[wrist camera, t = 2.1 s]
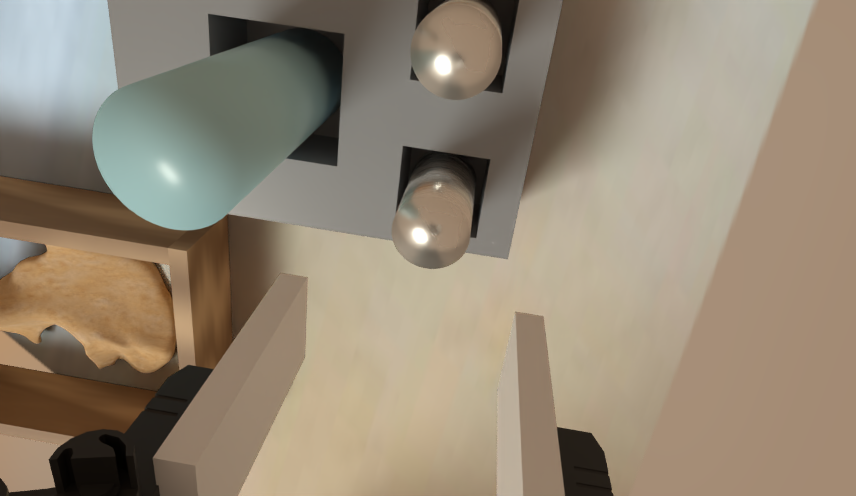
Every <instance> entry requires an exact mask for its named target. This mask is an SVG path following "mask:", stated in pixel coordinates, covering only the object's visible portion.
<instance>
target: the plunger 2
mask: <svg viewBox="0 0 856 496" xmlns="http://www.w3.org/2000/svg"><path fill="white" fill-rule="evenodd" d="M475 187H476V174H475V170H474V168H473V166H472V164H471V162H470V161H469V160H468V159H467V158H466V157H465V156H464V155H459V154H453V153H446V152H440V151H430V152H428V153H426V154H425V155H424V156H422V157H421V158H420V159H419V161H418V162H417V164H416V166H415V168H414V170H413V173H412V175H411V178H410V180H409V183H408V185H407V187H406V190H405V192H404V195H403V197H402V200H401V202H400V205H399V207H398V210H397V212H396V215H395V217H394V220H393V223H392V239H393V242H394V245H395V247H396V249H397V250H398V252H399V253H400V254H401V255H402V256H403V257H404V258H405V259H406V260H407V261H409V262H411V263H412V264H414V265H416V266H419V267H423V268H429V269H437V268H443V267H446V266H449V265H451V264H453V263H455V262H456V261H457V260H459V259H460V258H461V257H462V256H463V254H464V253H465V251H466V250H467V248H468V245H469V241H470V234H471V224H472V215H473V205H474V196H475Z"/></svg>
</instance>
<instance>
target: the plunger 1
mask: <svg viewBox="0 0 856 496" xmlns="http://www.w3.org/2000/svg"><path fill="white" fill-rule="evenodd" d="M410 55H411V63H412V67H413V70H414V72H415V74H416V76H417V78H418V80H419V81H420V82H421V84H422V85H423V86H424V87H425V88H426V89H427V90H428V91H430V92H431V93H433V94H435V95H436V96H438V97H441V98H444V99H449V100H463V99H468V98H471V97H473V96H476V95H478V94H479V93H481V92H482V91H484V90H485V89H486V88H487V87H488V86H489V85H490V84H491V83H492V81H493V80H494V78H495V77H496V75H497V73H498V70H499V68H500V64H501V59H502V27H501V21H500V17H499V15H498V13H497V11H496V9H495V8H494V7H493V5H492V4H491V3H490V2H489V1H487V0H445V1H444V2H443V3H441V4H440V5H439V6H438V7H436V8H435V9H434V10H433V11H432V12H430V13H429V14H428V15H427V16H426V17H425V18H424V19H423V20H422V21H421V22H420V24H419V25H418V27H417V29H416V30H415V33H414V35H413V38H412V42H411V50H410Z"/></svg>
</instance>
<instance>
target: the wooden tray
mask: <svg viewBox="0 0 856 496" xmlns="http://www.w3.org/2000/svg"><path fill="white" fill-rule="evenodd" d="M0 237H4V238H10V239H16V240H22V241H28V242H34V243H40V244H46V245H52V246H58V247H64V248H70V249H76V250H82V251H88V252H94V253H101V254H107V255H113V256H119V257H125V258H131V259H137V260H143V261H149V262H155V263H161V264H167V265H169V266H170V276H171V287H172V298H173V308H174V319H175V330H176V340H177V351H178V361H179V370H181V369H182V368H184V367H185V366H187V365H193V366H199V367H204V368H210V369H214V368H215V367H216V365H217V364H218V363H219V361H220V360H221V358H222V357H223V355H224V354H225V352H226V351H227V350H228V348H229V347H230V345H231V344H232V318H231V292H230V267H229V241H228V216H227V215H226V216H224V217H223V218H222V219H221V220H219V221H218V222H216V223H215V224H212V225H210V226H208V227H205V228H201V229H196V230H174V229H169V228H164V227H161V226H159V225H156V224H153V223H151V222H149V221H147V220H145V219H143V218H142V217H140V216H138V215H137V214H135V213H134V212H133V211H131V210H130V209H129V208H127V207H126V206H125V205H124V204H123V203H122V202H121V201H120V200H119V199H118V198H117V197H116V196H115V195H114V194H108V193H102V192H96V191H90V190H84V189H77V188H71V187H65V186H59V185H53V184H46V183H40V182H34V181H28V180H22V179H15V178H9V177H3V176H0ZM156 393H157V392H156V391H150V390H145V389H139V388H133V387H128V386H122V385H116V384H111V383H105V382H99V381H94V380H88V379H82V378H76V377H71V376H65V375H59V374H54V373H48V372H42V371H37V370H31V369H25V368H19V367H14V366H8V365H2V364H0V434H2V435H7V436H13V437H18V438H24V439H29V440H35V441H41V442H46V443H52V444H57V445H62V444H64V443H65V442H67V441H68V440H69V439H71V438H73V437H75V436H78V435H80V434H83V433H85V432H88V431H94V430H100V429H108V430H118V431H120V432H122V433H125V432H126V431H127V430H128V428H129V427H130V426H131V424H132V423H133V422H134V421H135V419H136V418H137V417H138V416H139V414H140V413H141V412H142V411H144V410H145V407H146V405H147V404H148V403H149V402H150V400H151V399H152V398H153V397H155V394H156Z"/></svg>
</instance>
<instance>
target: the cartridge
mask: <svg viewBox="0 0 856 496" xmlns="http://www.w3.org/2000/svg"><path fill="white" fill-rule="evenodd" d="M342 70H343V56H342V54H341V52H340V51H339V49H338V48H337V47H336V45H335V44H334V43H333V42H332V41H331V40H329V39H328V38H327V37H326V36H324V35H323V34H321V33H319V32H317V31H314V30H311V29H306V28H292V29H287V30H284V31H282V32H279V33H276V34H273V35H270V36H267V37H264V38H261V39H259V40H256V41H253V42H250V43H247V44H244V45H241V46H238V47H236V48H233V49H230V50H227V51H224V52H221V53H218V54H215V55H213V56H210V57H207V58H204V59H201V60H198V61H195V62H192V63H190V64H187V65H184V66H181V67H178V68H175V69H172V70H169V71H167V72H164V73H161V74H158V75H155V76H152V77H149V78H146V79H143V80H141V81H138V82H135V83H132V84H129V85H127V86H124V87H122V88H120V89H118V90H117V91H115V92H114V93H112V94H111V95H110V96H109V97H108V98H107V99H106V100H105V101H104V103H103V104H102V105H101V107H100V109H99V111H98V113H97V115H96V118H95V121H94V126H93V134H92V142H93V151H94V156H95V160H96V162H97V165H98V168H99V170H100V173H101V175H102V177H103V179H104V180H105V182H106V184H107V185H108V187H109V188H110V189H111V191H112V192H113V193H114V195H115V196H116V197H117V198H118V199H119V200H120V201H121V202H122V203H123V204H124V205H125V206H126V207H127V208H129V209H130V210H131V211H133V212H134V213H135V214H137V215H138V216H140V217H142V218H143V219H145V220H147V221H149V222H151V223H153V224H156V225H159V226H161V227H164V228H169V229H174V230H196V229H201V228H205V227H208V226H210V225H212V224H215V223H216V222H218V221H219V220H221V219H222V218H223V217H224V216H226V215H227V214H228V213H229V212H230V211H231V210H232V209H233V208H234V207H235V206H236V205H237V204H238V203H239V202H240V201H241V200H242V199H244V198H245V197H246V196H247V195H248V194H249V193H250V192H251V191H252V190H253V189H254V188H255V187H256V186H257V185H258V184H259V183H260V182H261V181H263V180H264V179H265V178H266V177H267V176H268V175H269V174H270V173H271V172H272V171H273V170H274V169H275V168H276V167H277V166H278V165H279V164H280V163H282V162H283V161H284V160H285V159H286V158H287V157H288V156H289V155H290V154H291V153H292V152H293V151H294V150H295V149H296V148H297V147H298V146H299V145H301V144H302V143H303V142H304V141H305V140H306V139H307V138H308V137H309V136H310V135H311V134H312V133H313V132H314V131H315V130H316V129H317V128H318V127H320V126H321V125H322V124H323V123H324V122H325V121H326V120H327V119H328V118H329V117H330V116H331V115H332V114H333V113H334V112H335V111H336V110H337V109H338V108H339V107H340V106H341V89H342Z"/></svg>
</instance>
